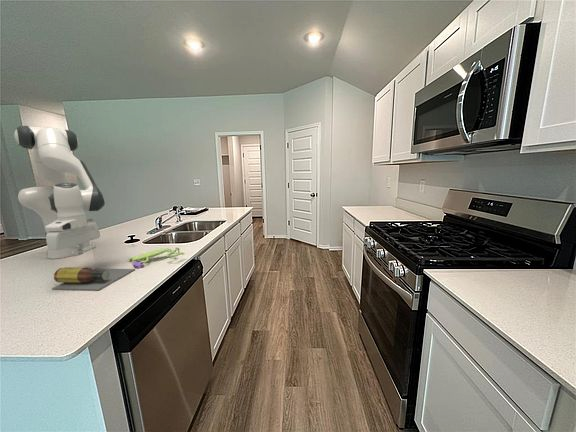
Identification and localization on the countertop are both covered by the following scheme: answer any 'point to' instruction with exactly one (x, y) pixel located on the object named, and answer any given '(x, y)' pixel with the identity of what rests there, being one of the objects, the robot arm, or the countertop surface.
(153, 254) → the figurine
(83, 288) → the rubber mat
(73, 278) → the sauce bottle
